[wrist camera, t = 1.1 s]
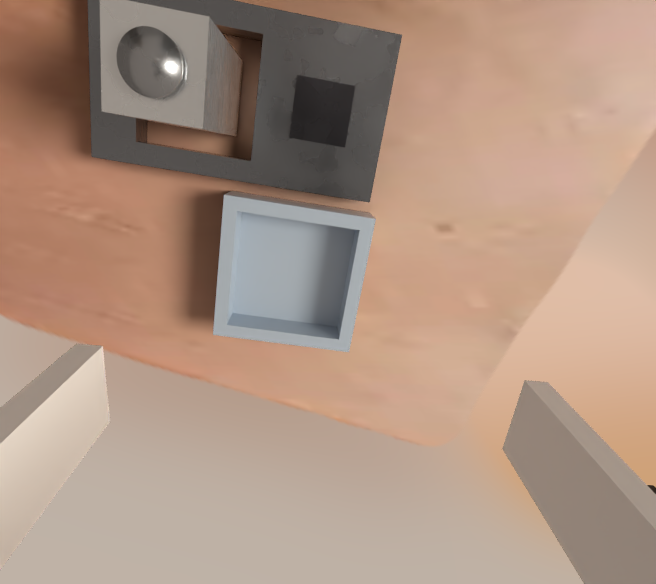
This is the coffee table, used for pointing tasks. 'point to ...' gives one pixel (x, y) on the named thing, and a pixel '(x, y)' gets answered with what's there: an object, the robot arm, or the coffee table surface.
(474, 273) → the coffee table surface
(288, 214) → the tray
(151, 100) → the knob block
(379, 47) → the grey slotted plate
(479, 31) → the coffee table surface
